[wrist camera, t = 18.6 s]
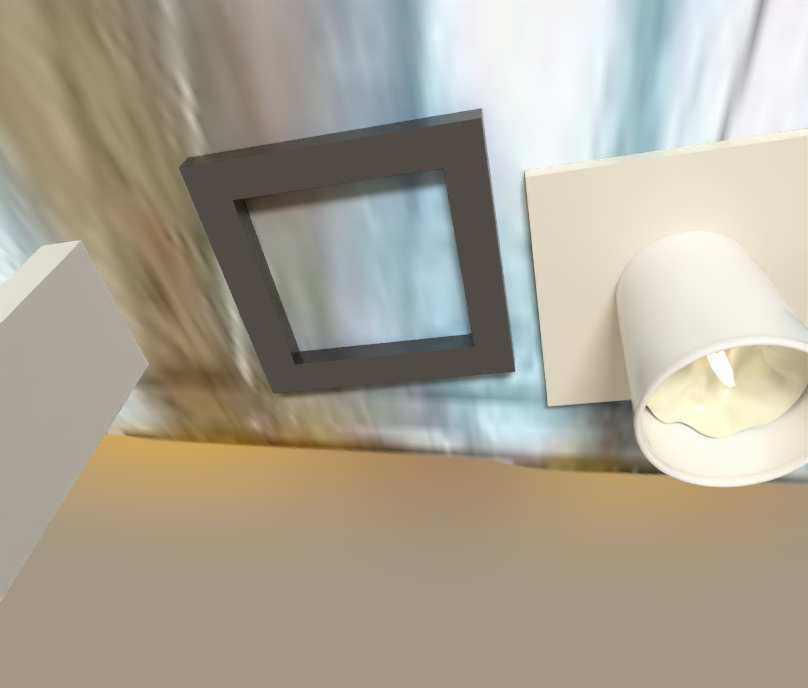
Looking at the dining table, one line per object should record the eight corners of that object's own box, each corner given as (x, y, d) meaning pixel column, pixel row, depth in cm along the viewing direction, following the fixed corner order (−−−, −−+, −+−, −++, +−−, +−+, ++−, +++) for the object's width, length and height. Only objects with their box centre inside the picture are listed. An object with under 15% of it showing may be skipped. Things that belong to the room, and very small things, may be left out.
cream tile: (864, 119, 36) (872, 126, 35) (811, 375, 47) (817, 384, 46) (524, 170, 40) (525, 177, 39) (547, 397, 50) (548, 406, 49)
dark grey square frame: (481, 108, 38) (481, 117, 37) (514, 357, 48) (515, 371, 47) (187, 158, 41) (179, 167, 40) (278, 380, 52) (273, 393, 51)
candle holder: (719, 363, 46) (780, 504, 36) (579, 330, 45) (604, 465, 36) (801, 238, 40) (900, 369, 30) (641, 199, 39) (691, 320, 30)
